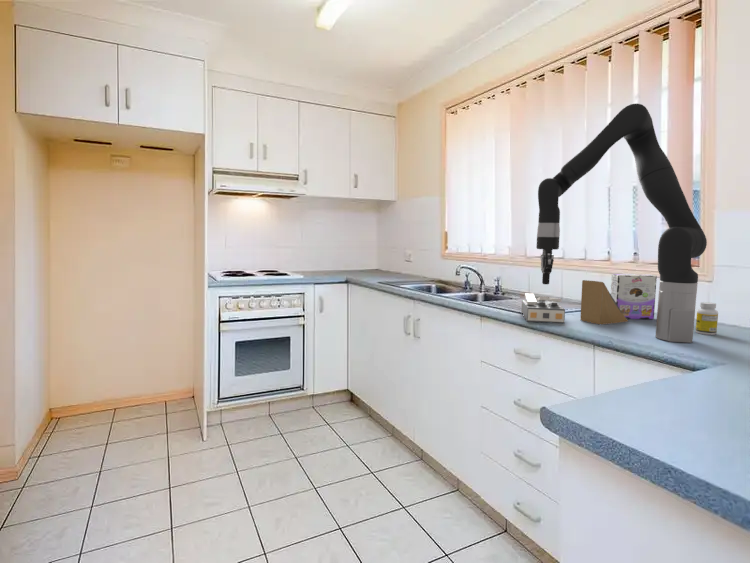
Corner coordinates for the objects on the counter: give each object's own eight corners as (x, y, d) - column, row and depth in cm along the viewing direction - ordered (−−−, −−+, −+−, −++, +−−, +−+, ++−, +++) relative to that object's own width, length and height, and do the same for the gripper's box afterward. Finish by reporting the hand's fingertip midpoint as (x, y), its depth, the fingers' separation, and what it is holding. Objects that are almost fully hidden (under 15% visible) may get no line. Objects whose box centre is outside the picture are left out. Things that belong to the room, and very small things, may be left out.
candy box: (646, 316, 170) (649, 274, 168) (654, 319, 164) (657, 275, 162) (608, 315, 171) (611, 273, 169) (615, 318, 165) (618, 274, 163)
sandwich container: (629, 321, 160) (632, 280, 158) (600, 325, 153) (603, 282, 152) (607, 317, 168) (610, 278, 166) (579, 320, 161) (582, 279, 159)
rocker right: (561, 302, 158) (561, 298, 158) (552, 301, 159) (552, 298, 159) (556, 301, 167) (556, 298, 167) (547, 301, 168) (547, 297, 168)
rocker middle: (549, 300, 159) (549, 297, 159) (539, 300, 160) (539, 296, 160) (544, 302, 168) (544, 298, 168) (535, 301, 169) (536, 298, 169)
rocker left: (536, 305, 160) (536, 301, 160) (527, 304, 161) (527, 301, 161) (533, 296, 169) (533, 293, 168) (524, 296, 169) (524, 293, 169)
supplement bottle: (695, 330, 145) (698, 301, 144) (716, 333, 142) (719, 302, 141) (694, 333, 141) (697, 303, 140) (716, 336, 137) (719, 304, 136)
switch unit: (564, 323, 154) (565, 307, 153) (527, 321, 157) (528, 305, 156) (554, 314, 172) (555, 299, 171) (521, 312, 175) (522, 298, 174)
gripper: (562, 236, 151) (560, 286, 153) (556, 236, 164) (553, 282, 166) (539, 235, 153) (537, 285, 155) (534, 235, 166) (532, 282, 167)
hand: (545, 284), depth 160 cm, fingers closed
